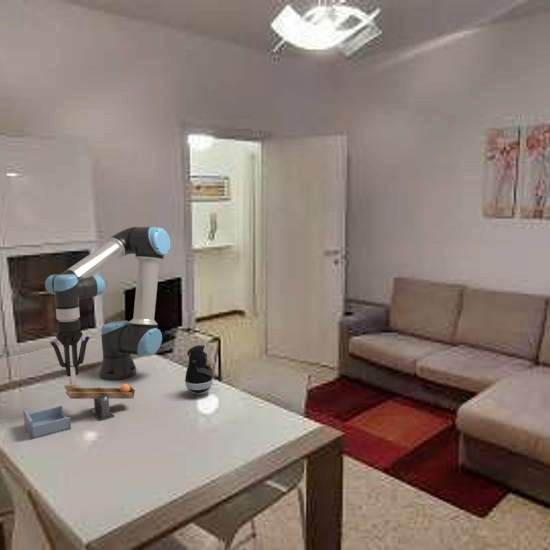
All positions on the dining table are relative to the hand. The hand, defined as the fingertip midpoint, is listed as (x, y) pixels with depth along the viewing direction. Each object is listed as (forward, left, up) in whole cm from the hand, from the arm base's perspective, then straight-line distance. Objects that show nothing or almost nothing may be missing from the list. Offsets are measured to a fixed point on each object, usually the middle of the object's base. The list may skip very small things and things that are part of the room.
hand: (73, 384), depth 176 cm
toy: (-44, +12, -11) cm, 46 cm away
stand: (-8, +7, -11) cm, 15 cm away
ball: (-16, +7, -4) cm, 18 cm away
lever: (-7, +3, -4) cm, 9 cm away
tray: (+10, +7, -11) cm, 16 cm away
